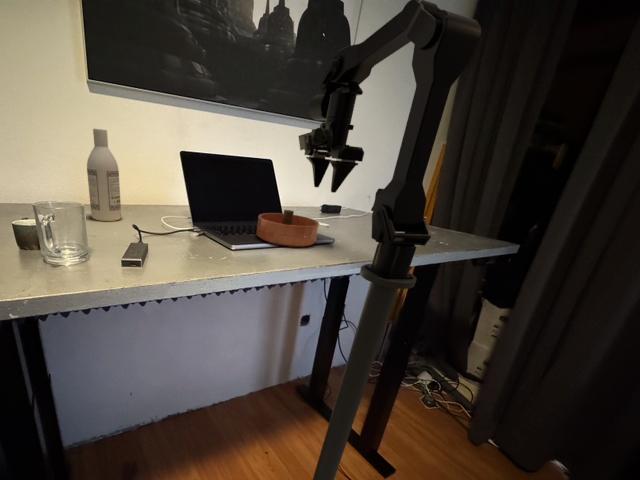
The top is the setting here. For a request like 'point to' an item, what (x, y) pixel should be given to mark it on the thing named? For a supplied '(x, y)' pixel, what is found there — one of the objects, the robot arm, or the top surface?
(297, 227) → the bowl
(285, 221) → the scrub brush
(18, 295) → the top surface
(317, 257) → the top surface
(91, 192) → the bath foam
